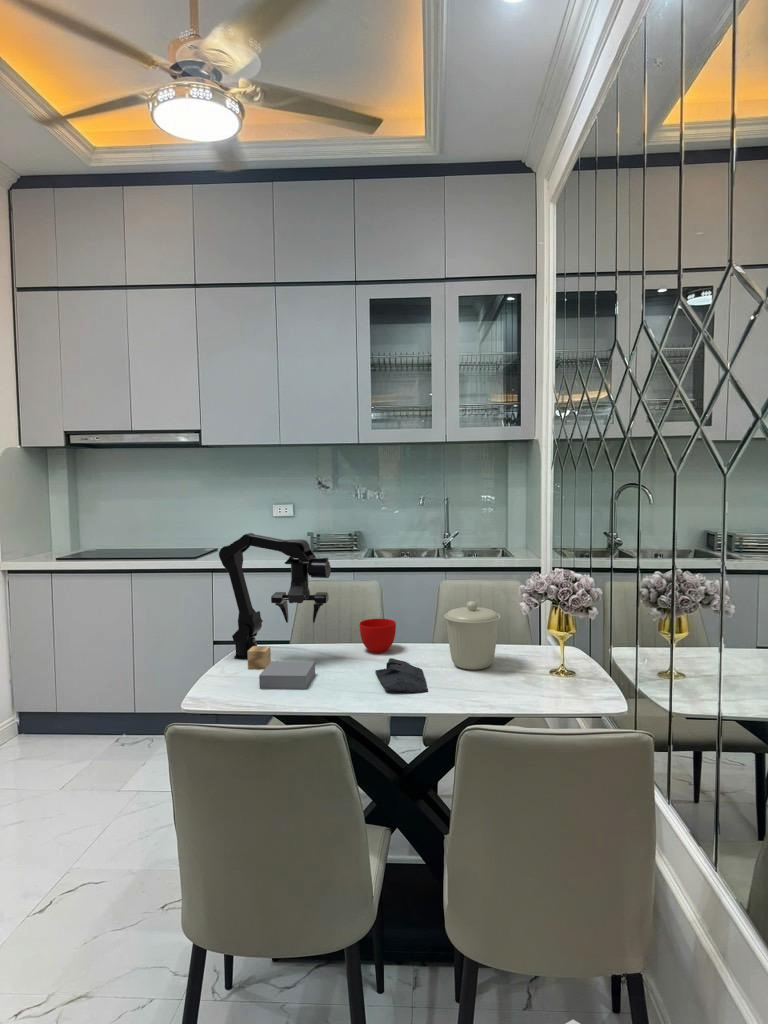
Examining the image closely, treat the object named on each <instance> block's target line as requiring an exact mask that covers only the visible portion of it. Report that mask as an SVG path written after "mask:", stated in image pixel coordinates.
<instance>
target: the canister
mask: <svg viewBox="0 0 768 1024" xmlns="http://www.w3.org/2000/svg"><path fill="white" fill-rule="evenodd" d="M443 617H444V619H445V621H446V628H447V639H448V644H449V652H450V658H451V661H452V663H453V664H454V665H455V666H456V667H457V668H460V669H463V670H468V671H469V670H472V671H473V670H474V671H475V670H476V671H478V670H483V669H487V668H489V667H490V666H492V665H493V662H494V660H495V653H496V648H497V647H496V646H497V638H498V629H499V628H498V627H499V620H500V619H501V614H499V613H498V612H497V611H495V610H492V609H490V608H487V607H486V608H485V607H478V603H477V602H476V601H474V600H473V601H472V600H470V601H467V603H466V606H463V607H457V608H452V609H451V610H449V611H448V612H446V613H445V614H444V615H443Z"/></svg>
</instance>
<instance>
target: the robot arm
mask: <svg viewBox="0 0 768 1024" xmlns="http://www.w3.org/2000/svg"><path fill="white" fill-rule="evenodd" d="M250 547H254V548H255V547H256V548H260V549H265V550H272V551H276V552H280V553H282V554H283V555H285V556H288V559H287V560H285V562H284V564H285V565H290V572H291V573H290V576H291V577H290V580H291V581H290V586H289V590H288V592H286V591H276V592H274V593H273V594H272V595H271V597H270V601H271V604H275V606H278V607H279V609H280V610H281V612H282V614H283V618H284V620H285V622H286V624H287V623H289V608H288V603H289V604H293V603H294V604H302V603H303V602H304V601H314V603H313V615H312V623H313V624H315V622H316V620H317V617H318V613H319V611H320V608H321V606H323V605H324V604H327V602H328V601H329V597H330V596H329V593H328V592H326V591H323V592H322V591H320V592H318V591H316V593H315V594H311V593H310V592H311V591H310V590H311V589H310V588H309V577H311V578H313V579H318V578H319V579H329V578H330V576H331V572H332V570H331V569H332V567H331V565H330V564H331V563H330V561H329V557H317V556H316V555H315V554H314V552H313V551H312V550H311V548H310V544H309V542H308V541H307V540H306V539H281V538H276V537H271V536H264V535H261V534H260V535H259V534H255V533H252V532H249V533H245V534H243V535H242V536H241V537H240V538H238V539H237V540H235V541H233V542H232V543H230V544H229V545H225V546H223V547H221V548H220V550H219V551H218V557H219V559H220V560H219V561H220V562H221V564H222V566H223V567H224V569H225V570H226V571H227V572H228V575H229V579H230V582H231V587H232V590H233V594H234V598H235V601H236V606H237V609H238V616H237V617H238V618H237V625H238V626H237V627H238V629H237V630H236V631H235V632H234V633H233V634H232V636H231V638H232V641H233V642H235V644H234V645H235V656H234V657H233V658H234V659H241V660H242V659H247V660H248V653H247V651H248V650H249V649H250V648H252V647H253V646H258V642H257V641H256V636H257V635H258V633H259V631H261V629H262V625H263V624H262V623H263V622H264V621H263V619H262V617H261V616H262V615H261V611H259V610H257V611H256V610H255V609H254V607H253V605H252V601H251V597H250V593H249V590H248V586H247V582H246V581H247V580H246V578H245V575H244V571H243V565H244V555H243V553H245V552H246V551H247V550H249V548H250Z"/></svg>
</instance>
